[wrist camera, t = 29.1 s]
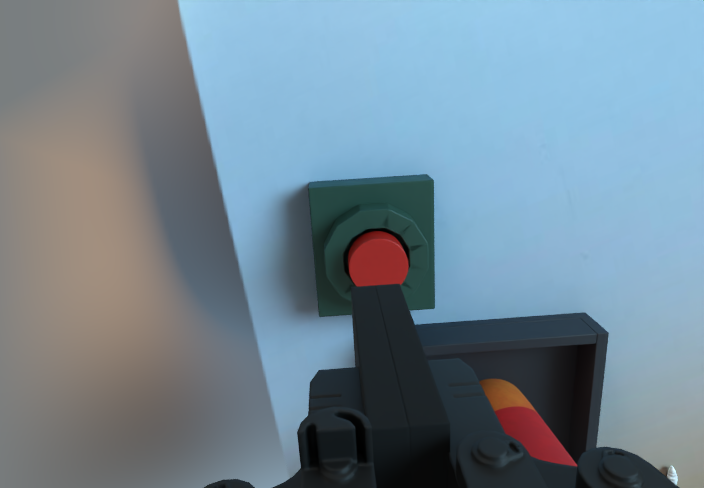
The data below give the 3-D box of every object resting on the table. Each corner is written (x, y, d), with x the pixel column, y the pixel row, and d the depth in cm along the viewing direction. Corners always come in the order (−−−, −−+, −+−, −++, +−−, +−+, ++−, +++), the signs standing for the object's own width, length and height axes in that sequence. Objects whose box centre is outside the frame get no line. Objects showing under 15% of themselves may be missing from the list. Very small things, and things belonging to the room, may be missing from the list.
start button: (349, 286, 32) (350, 297, 31) (346, 232, 31) (347, 240, 30) (405, 282, 32) (409, 293, 31) (403, 228, 31) (407, 236, 30)
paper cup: (491, 466, 40) (572, 652, 27) (419, 418, 39) (467, 592, 25) (559, 399, 39) (680, 562, 25) (487, 346, 37) (576, 491, 24)
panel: (319, 304, 36) (318, 329, 33) (309, 181, 34) (306, 193, 30) (428, 296, 37) (440, 320, 33) (427, 174, 34) (439, 185, 30)
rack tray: (397, 484, 42) (403, 517, 38) (391, 326, 37) (397, 348, 34) (570, 470, 42) (590, 501, 39) (585, 312, 38) (608, 332, 34)
